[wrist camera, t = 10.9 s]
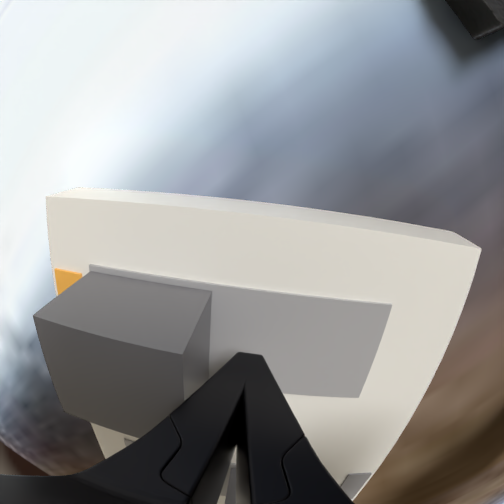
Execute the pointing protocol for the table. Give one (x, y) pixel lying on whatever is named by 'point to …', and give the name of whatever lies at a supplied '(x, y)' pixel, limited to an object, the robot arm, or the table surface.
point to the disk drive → (479, 15)
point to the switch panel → (288, 302)
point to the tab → (125, 349)
